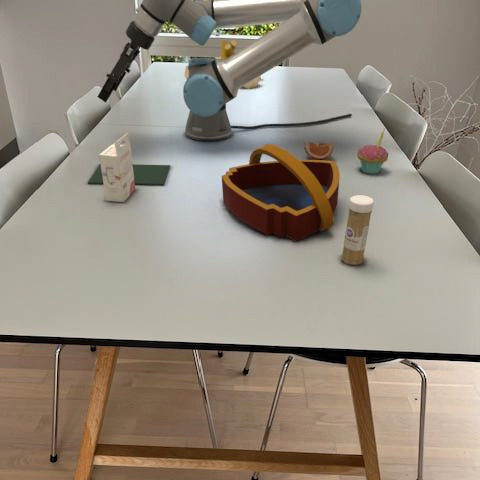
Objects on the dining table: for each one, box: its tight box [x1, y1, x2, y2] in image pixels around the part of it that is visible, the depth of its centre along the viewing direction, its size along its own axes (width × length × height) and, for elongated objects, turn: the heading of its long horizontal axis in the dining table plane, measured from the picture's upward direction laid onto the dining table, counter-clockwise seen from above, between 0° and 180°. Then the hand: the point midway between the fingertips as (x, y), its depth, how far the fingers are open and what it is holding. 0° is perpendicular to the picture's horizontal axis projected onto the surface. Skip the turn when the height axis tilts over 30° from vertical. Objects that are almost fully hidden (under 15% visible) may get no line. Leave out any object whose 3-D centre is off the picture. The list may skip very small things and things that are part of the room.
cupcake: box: [356, 128, 389, 175], centre depth 149 cm, size 9×8×12 cm
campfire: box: [183, 39, 262, 90], centre depth 236 cm, size 35×34×17 cm
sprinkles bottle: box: [341, 194, 375, 266], centre depth 107 cm, size 5×5×14 cm
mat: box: [87, 163, 171, 186], centre depth 147 cm, size 20×14×1 cm
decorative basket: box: [221, 143, 340, 242], centre depth 127 cm, size 34×29×15 cm
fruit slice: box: [304, 142, 334, 161], centre depth 159 cm, size 8×7×5 cm
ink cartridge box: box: [98, 132, 136, 203], centre depth 132 cm, size 9×5×15 cm, turn 168°
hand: (106, 93), depth 158 cm, fingers open, 13 cm apart
